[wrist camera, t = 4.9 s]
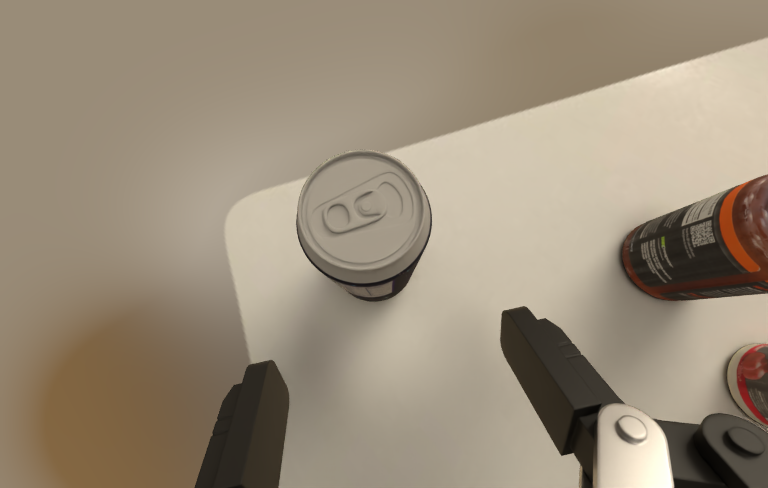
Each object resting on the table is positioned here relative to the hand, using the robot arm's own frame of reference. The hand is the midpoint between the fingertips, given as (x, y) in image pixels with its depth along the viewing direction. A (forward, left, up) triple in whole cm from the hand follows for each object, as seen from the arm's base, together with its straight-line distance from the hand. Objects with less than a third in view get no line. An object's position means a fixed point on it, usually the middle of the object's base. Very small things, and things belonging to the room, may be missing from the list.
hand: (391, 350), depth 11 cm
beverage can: (+2, +5, -12) cm, 13 cm away
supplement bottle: (+20, -6, -12) cm, 24 cm away
